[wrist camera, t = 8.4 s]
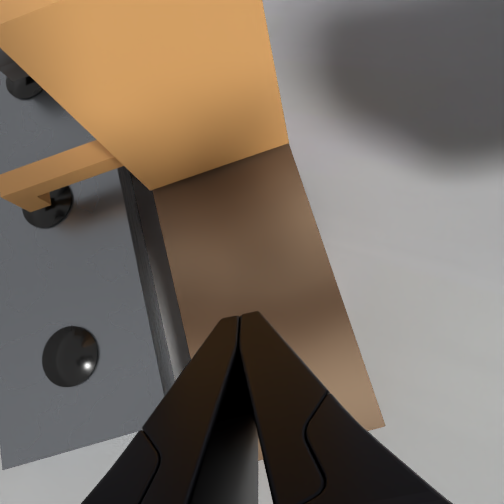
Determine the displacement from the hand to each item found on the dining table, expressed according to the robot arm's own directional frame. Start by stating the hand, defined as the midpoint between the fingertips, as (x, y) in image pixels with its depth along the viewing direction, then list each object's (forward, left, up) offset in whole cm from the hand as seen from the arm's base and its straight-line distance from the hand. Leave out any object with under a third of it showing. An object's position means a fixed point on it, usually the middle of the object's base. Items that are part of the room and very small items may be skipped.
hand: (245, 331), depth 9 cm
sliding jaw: (+7, +6, -7) cm, 12 cm away
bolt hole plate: (+5, +11, -9) cm, 15 cm away
